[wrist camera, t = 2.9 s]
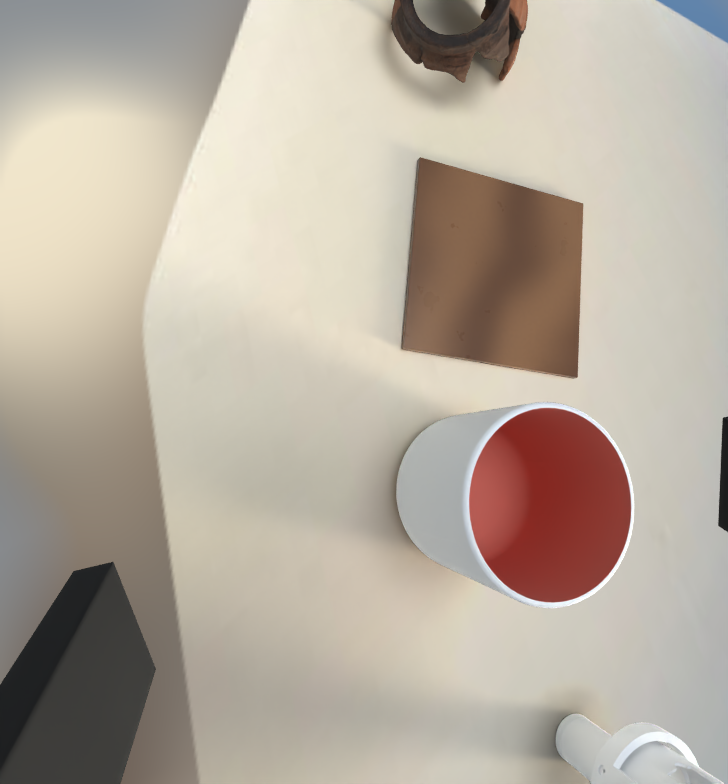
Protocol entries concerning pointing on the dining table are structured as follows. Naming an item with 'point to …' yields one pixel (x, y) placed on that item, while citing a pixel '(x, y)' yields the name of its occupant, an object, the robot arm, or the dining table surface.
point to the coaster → (493, 272)
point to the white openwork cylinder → (628, 754)
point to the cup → (520, 501)
